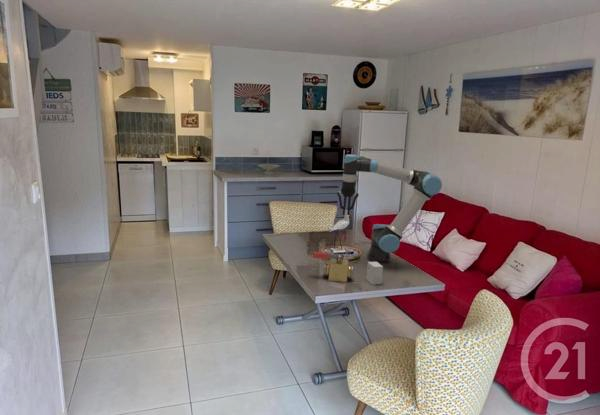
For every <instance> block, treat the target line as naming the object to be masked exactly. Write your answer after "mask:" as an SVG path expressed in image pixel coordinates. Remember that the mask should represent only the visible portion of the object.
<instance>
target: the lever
mask: <svg viewBox="0 0 600 415" xmlns="http://www.w3.org/2000/svg"><path fill="white" fill-rule="evenodd" d="M312 255H313V256H312V258H313V259H323V260H329V259H336V260H343V259H345V258H344V255H345V254H342V253H329V252H327V251H326V252H325V251H324V252H323V251H313V254H312Z"/></svg>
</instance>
